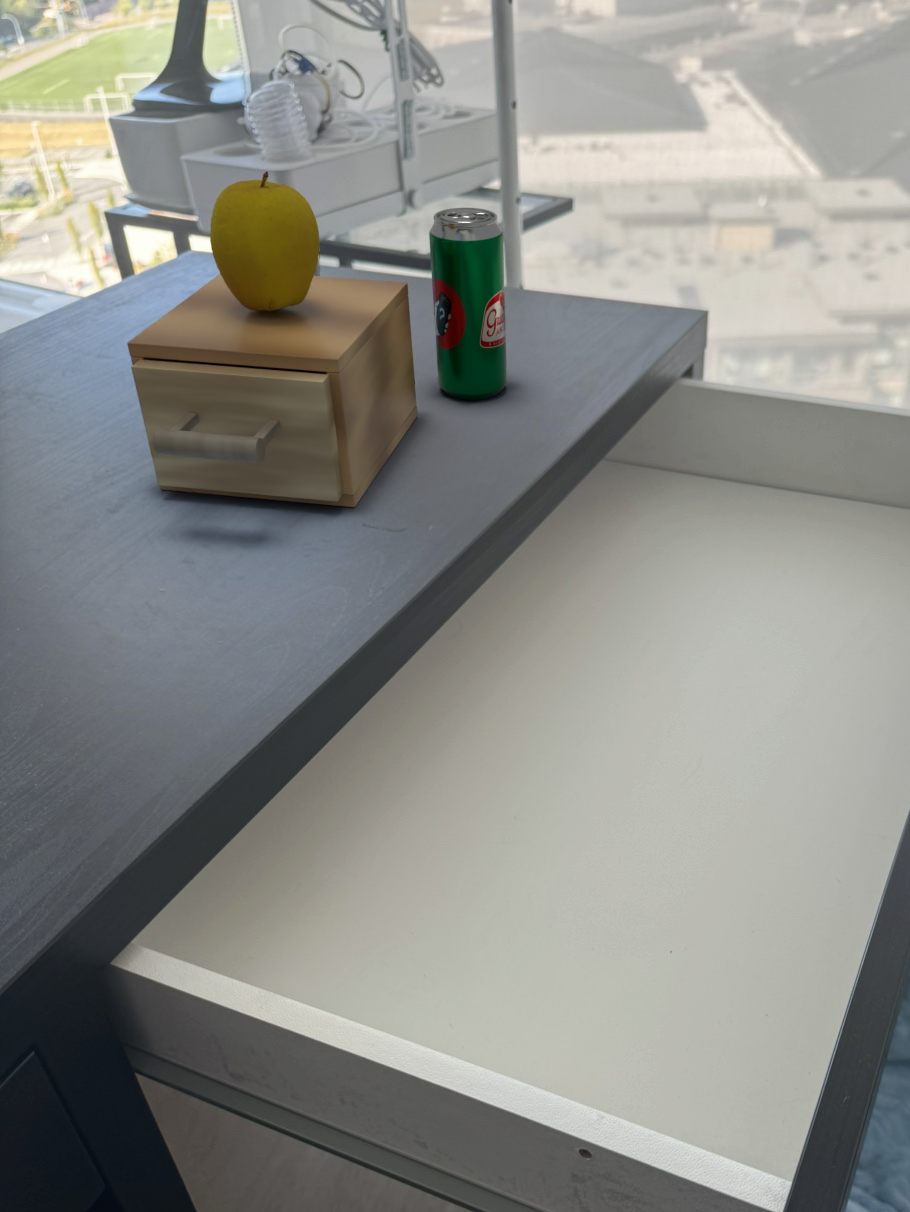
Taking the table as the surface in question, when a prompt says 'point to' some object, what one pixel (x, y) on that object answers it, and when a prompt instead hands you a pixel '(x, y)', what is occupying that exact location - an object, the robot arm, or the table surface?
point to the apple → (265, 243)
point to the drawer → (240, 428)
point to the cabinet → (310, 360)
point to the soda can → (469, 302)
